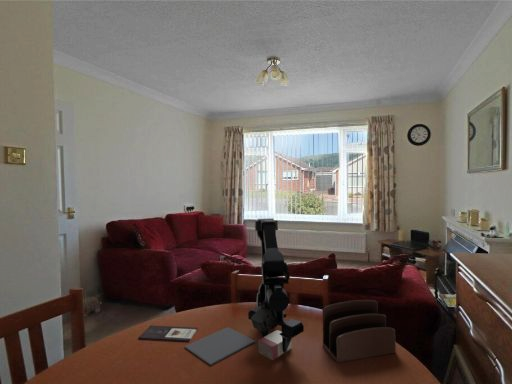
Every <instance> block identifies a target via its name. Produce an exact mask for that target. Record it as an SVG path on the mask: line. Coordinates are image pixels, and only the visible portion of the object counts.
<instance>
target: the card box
mask: <svg viewBox="0 0 512 384" xmlns="http://www.w3.org/2000/svg"><path fill="white" fill-rule="evenodd" d="M280 333H282V331H280V330H278V329H276V330H275V331H273V332H271V333H270V332H269V334H268V335H267V336H265V337H261V338H259V339H257V352H258V354H260V355H262V356H263V357H266V358H267V359H269V360H272V361H274V360H275V359H277V358H279V357H280V356H281V355H283V354H285V353H286V352H288V351H290V350H291V349H292V341H291V342H290V344H289V346H288V348H287V351H286V352H283V347H282V336H281V335H280Z"/></svg>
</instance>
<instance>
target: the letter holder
mask: <svg viewBox="0 0 512 384" xmlns="http://www.w3.org/2000/svg"><path fill="white" fill-rule="evenodd" d="M378 311H379V303H378V301H376V300H375V299H353V300H347V301H346V300H345V301H340V302H336V303H331V304H327V305H325V306H324V307H323V308H322V346H323V348H325V350H326V351H327V352H328V353H329V355H330V356H331V357H332V358H333V359H334V360H335V361H336V363H341V362H348V361H349V362H350V361H353V360H355V361H356V360H362V359H365V358H366V359H367V358H371V357H372V358H373V357H379V356H385V355H391V354H396V353H397V349H396V329H395V328H393V327H388V326H387V316H386V314H383V313H379V312H378Z"/></svg>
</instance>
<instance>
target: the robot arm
mask: <svg viewBox="0 0 512 384" xmlns="http://www.w3.org/2000/svg"><path fill="white" fill-rule="evenodd" d="M278 225H279V223H278V220H274V218H271V217H270V218H257V221H254V231H256V236H257V237H258V239H259V241H260V247H261V248H260V249H261V264H260V265H261V279H262V280H261V283H260V285H259V286H258V292H257V293H256V307H253V308H251V309H249V311H248V317H247V318H248V319H249V320H250V321H251V323H252V326H253V328H254V329H257V330H259V332H260V335H261V338H263V337H265V336H267V335H268V334H270V329H271V328H273V327H275V326H279V327H281V332H282V333H280V335H281V336H282V347H283V352H285V353H286V352H288V351H287V348H288V346H289V344H290V342H291V343H292V339H293V338H294V337H296V336H298V335H300V334H301V333H303V332H305V331H304V330H305V329H304V327H305V326H304V323H303V322H302V321H300V320H297V319H295V318H291V319H289V320H285V319H284V318H286V317H287V313H285V312H284V311H285V310H286V309H287V308H288V306H289V304H290V299H289V296H288V294H287V292H286V289H285V287H284V285H288V284H289V283H290V282H289V280H290V278H291V277H290V270H289V265H288V263H287V261H285V258H284V254H283V253H282V252H281V251H279V248H278V242H277V235H276V231H278V230H279V228H278V227H279V226H278ZM283 276H284V277H283Z"/></svg>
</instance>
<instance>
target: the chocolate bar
mask: <svg viewBox="0 0 512 384" xmlns="http://www.w3.org/2000/svg"><path fill="white" fill-rule="evenodd" d="M197 331H198V327H191V326H190V327H189V326H168V325H149V326H148V327H147V328H146V329H145V330H144V331H143V332H142V333H141V334H140V335H139V336H138V337H137V339H138V340H145V341H165V342H167V341H168V342H183V343H185V342H186V343H188V342H191V340H192V338H193V337H194V335H195V333H196V332H197Z"/></svg>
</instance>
